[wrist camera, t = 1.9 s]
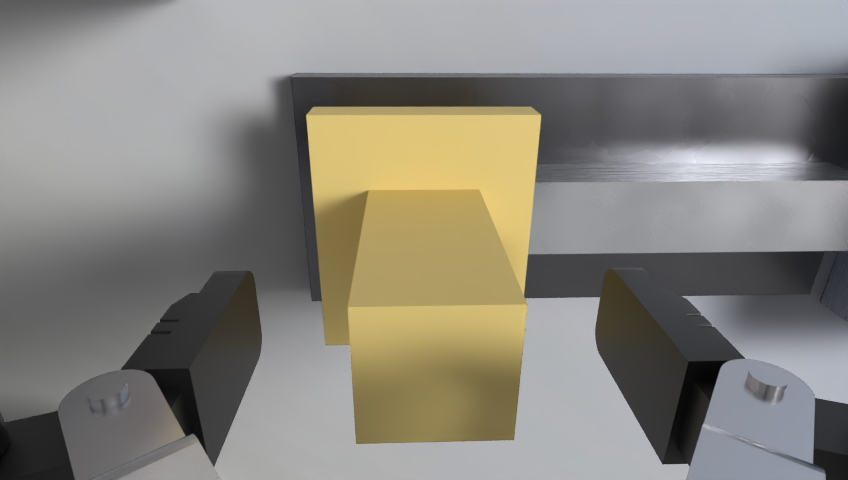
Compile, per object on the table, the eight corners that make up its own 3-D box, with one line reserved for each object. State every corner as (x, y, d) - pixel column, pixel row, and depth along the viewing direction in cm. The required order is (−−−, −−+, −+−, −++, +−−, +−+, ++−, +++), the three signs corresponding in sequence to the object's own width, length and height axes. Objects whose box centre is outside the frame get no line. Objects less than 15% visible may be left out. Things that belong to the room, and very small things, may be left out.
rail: (296, 73, 17) (276, 86, 14) (860, 74, 18) (943, 86, 15) (315, 287, 20) (302, 331, 18) (791, 281, 21) (850, 322, 18)
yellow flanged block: (322, 95, 16) (239, 192, 8) (517, 95, 16) (635, 190, 8) (336, 294, 19) (286, 520, 11) (502, 292, 19) (578, 511, 11)
